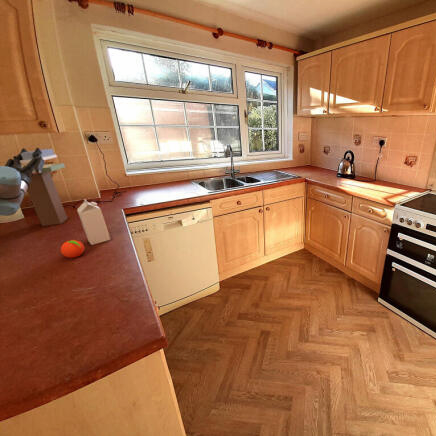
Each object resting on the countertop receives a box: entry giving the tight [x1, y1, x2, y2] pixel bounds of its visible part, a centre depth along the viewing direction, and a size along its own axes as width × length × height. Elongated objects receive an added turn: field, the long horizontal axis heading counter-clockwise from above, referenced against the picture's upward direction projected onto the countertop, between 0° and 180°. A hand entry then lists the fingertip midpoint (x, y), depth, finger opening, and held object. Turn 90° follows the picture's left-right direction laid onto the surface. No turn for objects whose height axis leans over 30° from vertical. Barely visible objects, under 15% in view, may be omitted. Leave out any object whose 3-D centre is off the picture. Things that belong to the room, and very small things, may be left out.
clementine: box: [60, 239, 85, 259], centre depth 96 cm, size 8×7×7 cm
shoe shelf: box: [21, 162, 68, 227], centre depth 126 cm, size 15×20×30 cm
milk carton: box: [76, 198, 111, 246], centre depth 107 cm, size 7×7×19 cm
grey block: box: [20, 148, 58, 165], centre depth 119 cm, size 22×4×4 cm, turn 20°
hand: (32, 150), depth 115 cm, fingers closed on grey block, 4 cm apart
